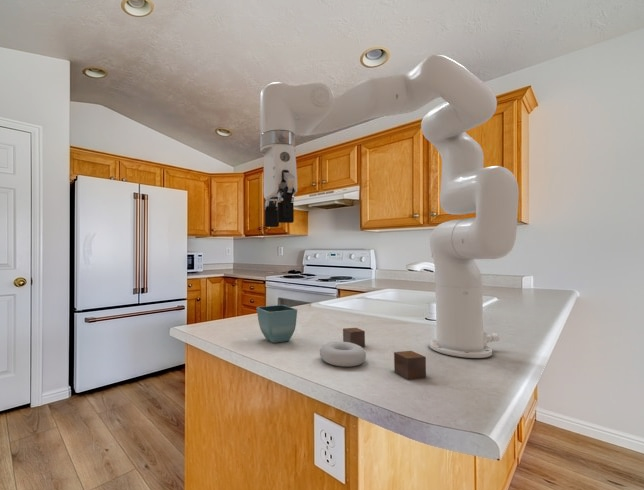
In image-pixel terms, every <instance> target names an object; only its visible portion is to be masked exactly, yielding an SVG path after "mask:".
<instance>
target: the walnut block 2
mask: <svg viewBox="0 0 644 490" xmlns="http://www.w3.org/2000/svg"><path fill="white" fill-rule="evenodd" d="M393 369H394V371H393V372H394V373H395V374H397V375H400V377H402V378H404V379H406V380H417V379H425V378H427V357H426V356H425V355H422V354H421V353H418V352H415V351H413V350H402V351H394V352H393Z"/></svg>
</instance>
